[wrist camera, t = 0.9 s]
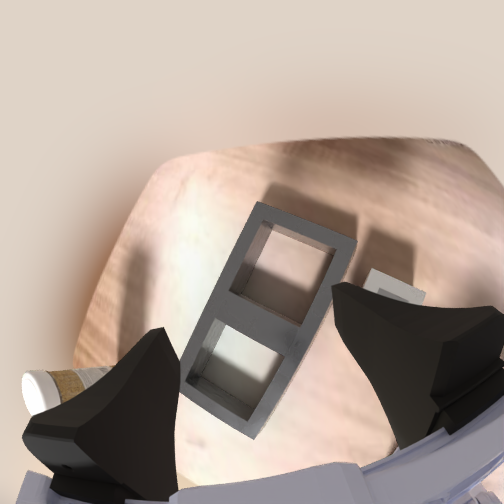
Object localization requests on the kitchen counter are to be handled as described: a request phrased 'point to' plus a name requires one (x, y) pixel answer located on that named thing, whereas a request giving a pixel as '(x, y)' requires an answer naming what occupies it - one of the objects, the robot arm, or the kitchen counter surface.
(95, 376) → the sprinkles bottle
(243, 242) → the grey rectangular tray
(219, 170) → the kitchen counter surface
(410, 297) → the gray block
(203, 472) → the kitchen counter surface
